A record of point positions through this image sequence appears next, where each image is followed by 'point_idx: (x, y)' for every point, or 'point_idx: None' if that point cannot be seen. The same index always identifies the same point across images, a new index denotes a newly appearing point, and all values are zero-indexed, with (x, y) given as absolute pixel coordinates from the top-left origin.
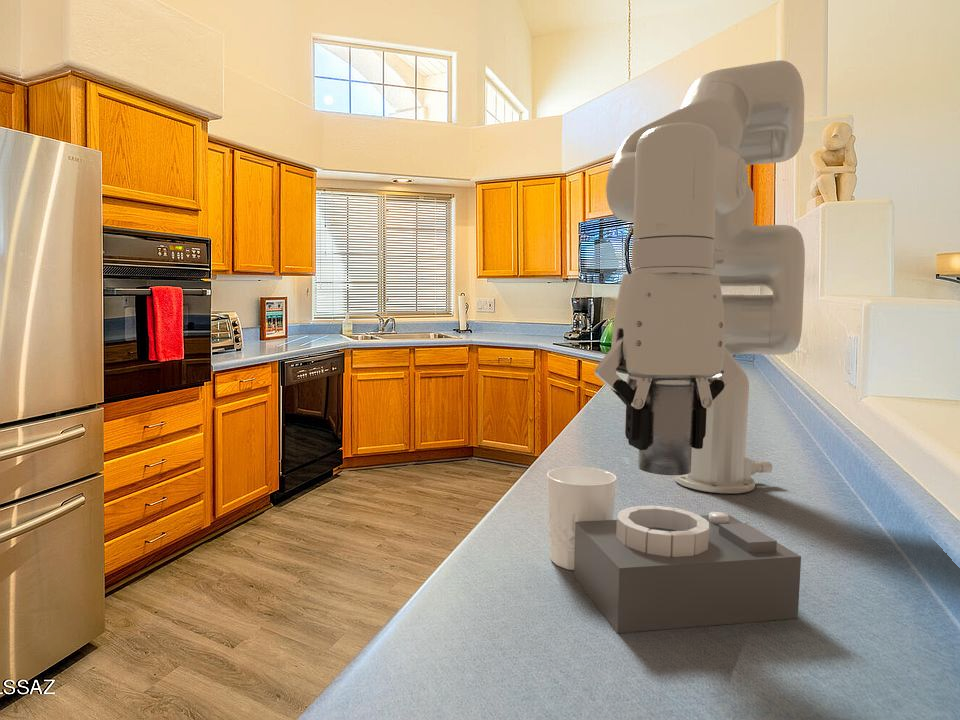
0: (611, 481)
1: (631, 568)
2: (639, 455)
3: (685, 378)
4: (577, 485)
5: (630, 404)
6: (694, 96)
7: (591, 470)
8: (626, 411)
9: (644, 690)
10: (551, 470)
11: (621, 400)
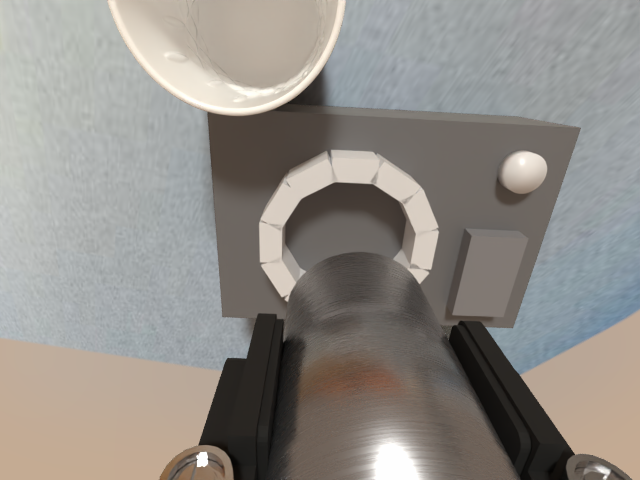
0: (297, 89)
1: (241, 316)
2: (285, 323)
3: None
4: (185, 100)
5: None
6: None
7: None
8: (200, 442)
9: (231, 350)
10: None
11: (165, 467)
